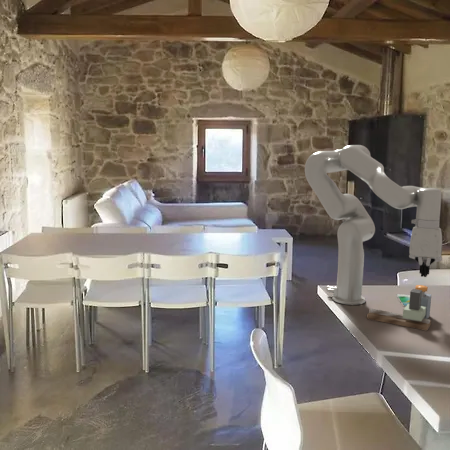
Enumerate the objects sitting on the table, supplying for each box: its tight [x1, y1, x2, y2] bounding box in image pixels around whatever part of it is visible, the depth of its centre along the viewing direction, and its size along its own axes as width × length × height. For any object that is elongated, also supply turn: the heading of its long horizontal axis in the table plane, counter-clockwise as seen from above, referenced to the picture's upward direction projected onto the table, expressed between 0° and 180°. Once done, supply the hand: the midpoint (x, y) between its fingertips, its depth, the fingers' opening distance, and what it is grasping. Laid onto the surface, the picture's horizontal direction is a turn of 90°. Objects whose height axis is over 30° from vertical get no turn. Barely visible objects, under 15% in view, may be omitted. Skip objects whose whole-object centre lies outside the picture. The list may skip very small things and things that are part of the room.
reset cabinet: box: [421, 292, 432, 319], centre depth 187 cm, size 6×6×8 cm
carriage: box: [402, 288, 426, 321], centre depth 179 cm, size 6×7×9 cm
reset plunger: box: [414, 284, 429, 297], centre depth 186 cm, size 4×4×5 cm
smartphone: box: [395, 293, 410, 308], centre depth 205 cm, size 7×1×15 cm
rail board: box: [366, 308, 432, 332], centre depth 183 cm, size 20×7×2 cm, turn 59°
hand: (424, 275), depth 185 cm, fingers closed
